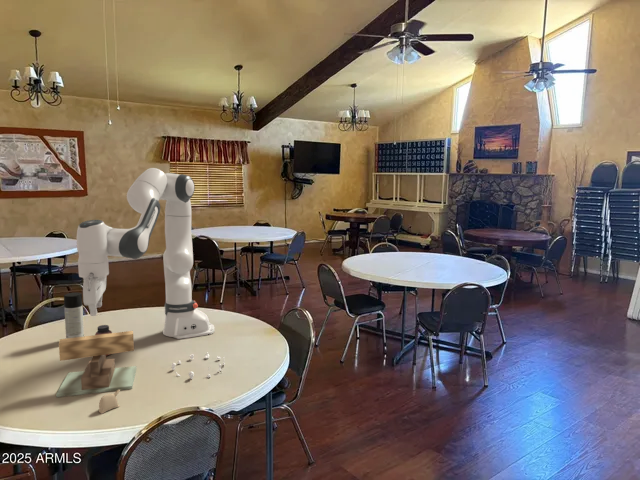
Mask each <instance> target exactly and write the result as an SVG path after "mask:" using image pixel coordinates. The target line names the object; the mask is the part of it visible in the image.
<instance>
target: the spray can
mask: <svg viewBox="0 0 640 480" xmlns="http://www.w3.org/2000/svg"><path fill="white" fill-rule="evenodd" d="M63 304H64V305H63V306H64V321H65V322H64V323H65V325H64V326H65V339H67V338H75V337H84V336H85V333H84V332H85V329H84V328H85V327H84V315H83V314H84V310H83V307H84V306H83V293H82V292H69V293H66V294H64V295H63Z"/></svg>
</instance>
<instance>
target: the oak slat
mask: <svg viewBox="0 0 640 480" xmlns="http://www.w3.org/2000/svg"><path fill="white" fill-rule="evenodd" d="M134 342H135V341H134V331H133V330H129V331H128V330H126V331H120V332H119V331H117V332H112V333H109V334H101V335H95V334H94V335H87V336H86V335H84V337H75V338H67V339H66V338H61V339H59V341H58V350H59V351H58V354H59V361H61V362H62V361H67V360H75V359H76V360H77V359H85V358H90V357H91V358H93V356H99V355H107V354H111V355H113V354H119V353H127V352H133V351H135V345H134V344H135V343H134Z"/></svg>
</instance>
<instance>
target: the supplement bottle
mask: <svg viewBox="0 0 640 480" xmlns="http://www.w3.org/2000/svg"><path fill="white" fill-rule="evenodd" d="M109 333H113V332H112V330H110V326H109V325H108V324H102V325H98V326H97V331H96V332H95V333H94V335H101V334H109ZM111 355H112V354H107V355H106V357H107V356H111Z"/></svg>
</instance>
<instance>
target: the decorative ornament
mask: <svg viewBox="0 0 640 480" xmlns="http://www.w3.org/2000/svg"><path fill="white" fill-rule="evenodd" d="M120 391H121V390H116V391H115V392H114V393H106V394H105V395H103V396H102V397H100V399H99V402H98V403H99V404H98V412H99V414H101V415H103V414H105V413H106V412H108V411H110V410H113V409H115V408H120V407H121V406H120V405H119V403H118V399H117V395H118V394H119V393H120Z"/></svg>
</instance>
